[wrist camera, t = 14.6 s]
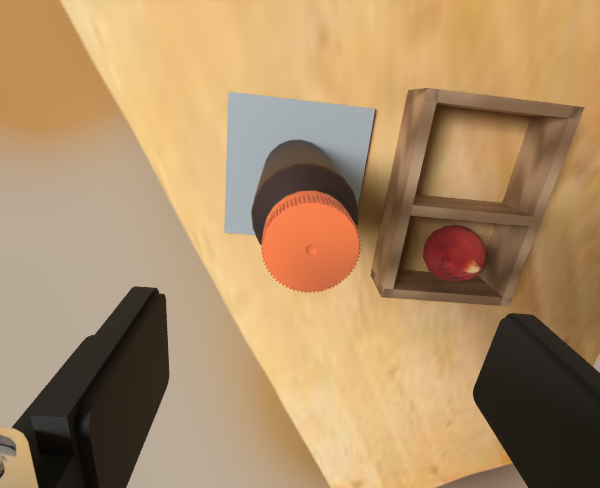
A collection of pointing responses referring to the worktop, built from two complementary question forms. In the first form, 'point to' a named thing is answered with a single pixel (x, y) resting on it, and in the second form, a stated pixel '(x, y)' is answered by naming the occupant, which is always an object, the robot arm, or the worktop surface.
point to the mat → (278, 129)
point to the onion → (454, 253)
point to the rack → (508, 215)
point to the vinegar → (305, 218)
